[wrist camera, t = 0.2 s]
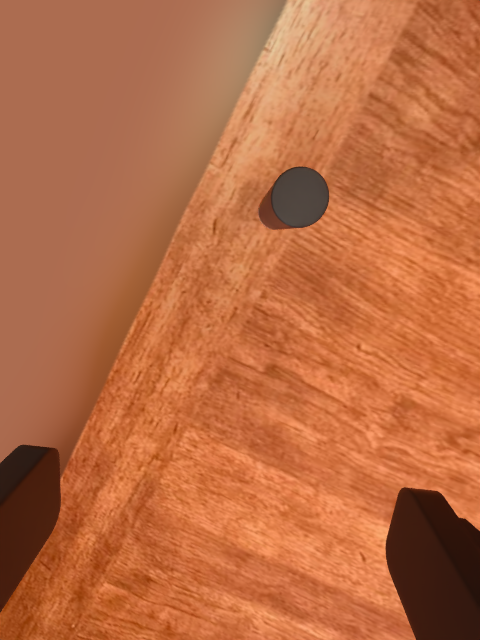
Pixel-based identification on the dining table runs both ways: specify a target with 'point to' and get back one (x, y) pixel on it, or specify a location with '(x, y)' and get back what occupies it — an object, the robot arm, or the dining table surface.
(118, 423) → the dining table surface
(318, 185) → the dark grey cylinder
